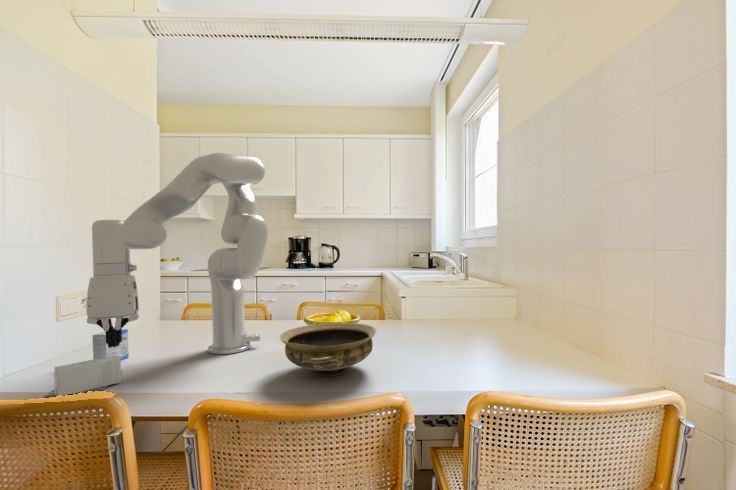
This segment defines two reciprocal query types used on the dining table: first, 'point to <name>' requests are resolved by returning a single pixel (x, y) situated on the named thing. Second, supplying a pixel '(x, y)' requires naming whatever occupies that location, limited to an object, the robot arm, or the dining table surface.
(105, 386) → the mat
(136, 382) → the dining table surface
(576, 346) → the dining table surface
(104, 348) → the medicine box
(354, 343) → the ceramic bowl
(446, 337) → the dining table surface
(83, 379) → the skincare box
